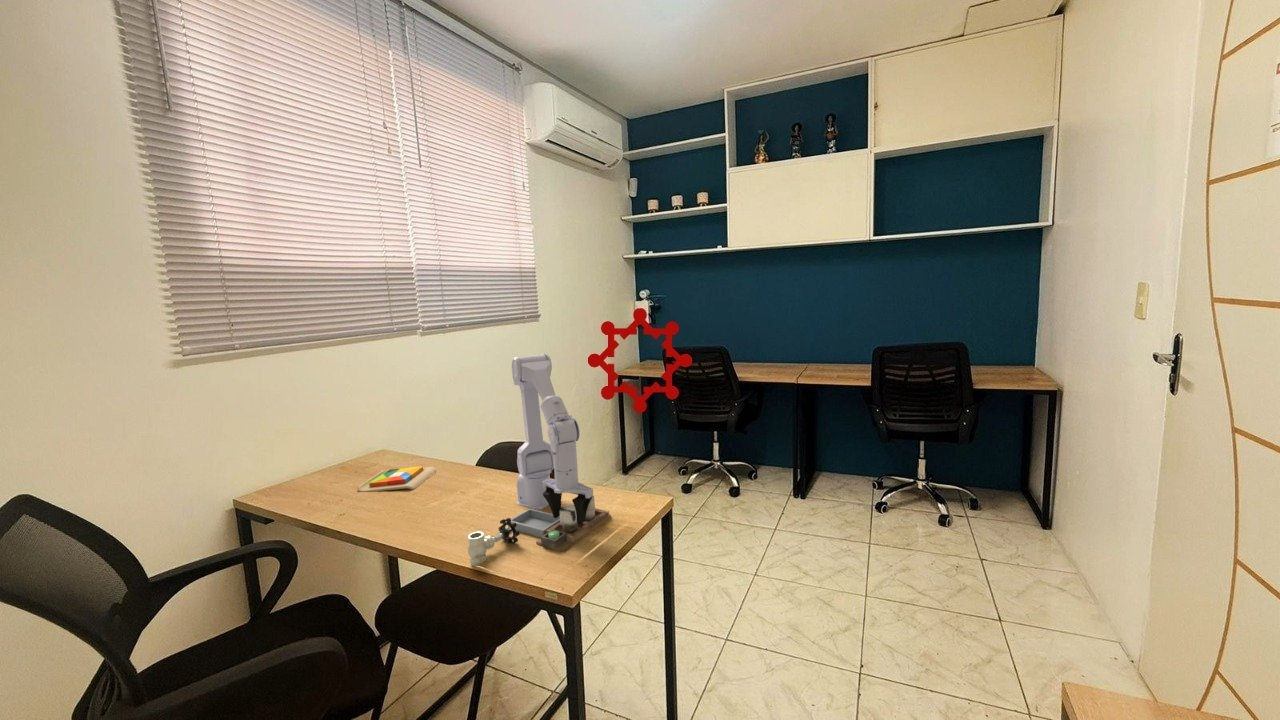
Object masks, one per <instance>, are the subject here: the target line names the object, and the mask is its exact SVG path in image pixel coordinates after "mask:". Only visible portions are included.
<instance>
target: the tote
mask: <svg viewBox="0 0 1280 720" xmlns="http://www.w3.org/2000/svg"><path fill="white" fill-rule="evenodd" d="M510 519H511V523H512V524H513V523H516V524H517V527H515V529H516V531H519V533H523V534H527V535H531V536H533V537H537V538H539V539H541V537H542V536H543V535H545V534H546V530H547V529H549V528H550V527H552V526H553V525H555V524H556V523H558V522H560V516H559V517H557V518H554V516H553V514H552V513H549V512H546V511H543V510H542V511H541V510H539V509H535V508H528V509H526V510H525V511H522V512H520V513H519V514H517V515H516V516H514V517H512V518H510ZM507 528H511V527H510V526H508V525H507Z"/></svg>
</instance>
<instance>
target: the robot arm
mask: <svg viewBox="0 0 1280 720" xmlns="http://www.w3.org/2000/svg"><path fill="white" fill-rule="evenodd" d="M552 370H553V364H552V359H551V357H550V356H549V355H548V354H547V353H542V354H534V355H525V356H524V355H523V356H514V357H513V359H512V361H511V371H512V373H511V374H512V380H513V384H514V385H515V386H518V387H519V390H520V397H521V406H522V414H523V424H524V435H525V442H523V444H522V445H520V446H519V448H518V449H517V454H516V455H517V458H516V465H517V469H518V473H519V475H518V477H517V480H516V489H517V490H516V491H517V501H516V503H515V504H516V505H519V506H523V507H528V508H530V509H534V510H538V511H541V510H543V509H545V508H546V507H547V506H549V507H550V510H551V514H553V516H554V518H557V517H559V516H560V513H559V509H560V508H561V507H562V495H563V493H564V494H565V493H568V494H572V495H577V496H576V497H574V498H573V499H571V501H572V503H573V504H572V505H574V506H575V510H576V516H577V523H578V524H579V525H580V524H582V523H583V522H585V517H586V512H587V508H588V505H589V503H590V501H591V499H592V497H593V496H594V488H593V487H590V486H588V485H585V484H584V483H582V482H580V481H579V470H578V468H579V467H578V454H577V442H578V441H579V439H580V427H579V424H578V421H577V419H576V418H575V417H573V416H572V415H569V412H568V409H567V408H566V405H565V403H564V401H563V398H561V397H560V396H557V395H556V393H555V390H554V386H553V382H552V380H551V375H552ZM539 397H540V399H541V401H542V402H541V405H540V399H539ZM541 412H542V414H543V417H544V419H545V422H546V424H547V435H548V439H549V442H547V441H545V440H544V436H543V427H542V418H541ZM552 471H554V479H551V476H550V474H552Z"/></svg>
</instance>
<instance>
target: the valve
mask: <svg viewBox="0 0 1280 720" xmlns="http://www.w3.org/2000/svg"><path fill="white" fill-rule="evenodd" d="M511 519H512V518H511V517H507V518H505V519H504V518H503V519H501V520H499V524H502V525H500V526H498V531H499V533H496V534H494V535H493V536H491V535H487V536H485V535H484V532H483V531H475V532H472V533H470V534H468V535H467V541H468V546H467V554H468V556H469V558H470V559H469V560H470V564H471V566H472V567H473V566H474V567H477V566H478V567H479V566H480V564H482V563H484V562H486V561H487V554H486V553H487V550H488V551H489V550H491V549H493V548H494V547H495V544H496V543H497V542H499V541H501V540H502V541H504V542H506V543H507V544H511V543H513V544H517V543H518V541H519V540H518V538H517V537H518V536H520V535H521V534H520V533H521V532H519V531H516V529H515V527H517V524H516V523H513V524H512V523H511ZM508 526H510V527H511V528H508ZM506 527H507V528H506ZM510 535H512V537H511V536H510Z"/></svg>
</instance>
